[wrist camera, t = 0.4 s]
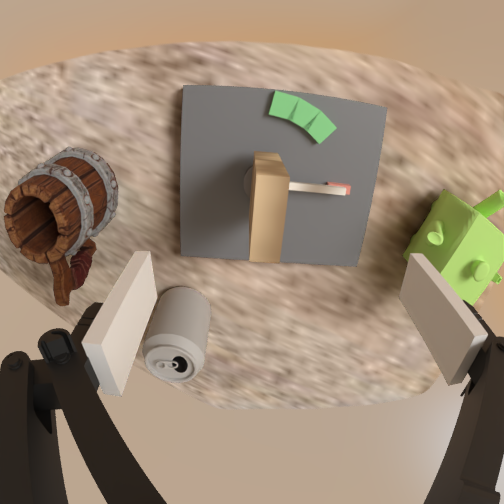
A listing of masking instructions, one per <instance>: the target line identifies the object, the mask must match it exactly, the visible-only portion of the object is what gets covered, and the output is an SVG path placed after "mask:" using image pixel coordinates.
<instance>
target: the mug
mask: <svg viewBox="0 0 504 504" xmlns="http://www.w3.org/2000/svg"><path fill="white" fill-rule="evenodd" d="M117 205H118V185H117V182H116V178H115V175H114V172H113V171H112V169H111V168H110V166H109V165H108V163H106V162H105V161H104V159H103V158H101V157H100V156H99V155H97V154H96V153H95V152H92V151H89V150H86V149H82V148H71V147H67V148H66V149H65V150H63V151H62V152H60V153H59V154H57V155H55V156H54V157H52V158H51V159H49V160H48V161H46V162H45V163H44V164H43V163H40V164H38V166H37V167H36V168H35V169H33V170H32V171H30V172H29V173H28V174H26V175H25V176H24V177H22V178H21V179H20V180H19V181H18V186H17V187H16V188H14V189H13V190H12V191H11V192H10V194H9V196H8V198H7V199H6V201H5V208H4V212H5V213H7V215H6V216H4V220H5V227H6V230H7V233H8V235H9V237H10V240H11V241H12V243H13V244H14V246H15V247H16V248H21V251H20V253H22V254H23V255H24V256H25V257H26V258H28V259H30V260H32V261H34V262H37V263H48V262H49V265H50V267H51V269H52V273H53V276H54V287H53V291H54V296H55V301H56V303H57V304H58V305H59V306H66V305H69V295H70V292H71V291H72V290H77V289H78V288H79V287H81V286H82V285H83V284H84V281H85V278H86V277H87V275H88V272H89V269H90V267H91V263H92V255H93V254H94V252H95V251H96V250H97V249H96V245H95V242H93V241H92V240H91V239H89V237H90V236H93V237H96V236H97V235H98V233H99V232H100V231H101V230H103V229H104V228H105V227H106V225H107V224H108V223H109V222H110V221H111V220H112V219H113V218H114V217H115V215H116V213H115V211H116V208H117ZM79 248H80V250H81V251H78V252H77V250H78V249H79ZM70 254H71V255H74V256H72V257H71V261H70V264H71V267H70V268H69V265H68V263H67V261H66V258H65V257H66V256H68V255H70Z"/></svg>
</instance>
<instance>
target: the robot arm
mask: <svg viewBox="0 0 504 504" xmlns="http://www.w3.org/2000/svg"><path fill="white" fill-rule="evenodd" d="M399 299H400V300H401V302H402V304H403V305H404V307H405V309H406V310H407V312H408V314H409V315H410V317H411V319H412V320H413V322H414V324H415V326H416V327H417V329H418V331H419V332H420V334H421V336H422V338H423V339H424V341H425V343H426V345H427V347H428V348H429V350H430V352H431V354H432V356H433V357H434V359H435V361H436V363H437V365H438V367H439V369H440V370H441V372H442V374H443V376H444V378H445V380H446V382H447V384H448V385H453V384H458V383H462V381H463V380H464V378H465V376H466V375H467V373H468V374H469V375H470V377H471V379H470V381H469V382H468V384H467V386H466V387H465V389H464V390H463V392H462V394H461V396H463V395H464V393H465V396H464V399H463V403H462V406H461V410H460V413H459V417H458V419H457V423H456V425H455V428H454V431H453V434H452V437H451V440H450V443H449V446H448V448H447V451H446V454H445V456H444V459H443V461H442V464H441V466H440V469H439V471H438V473H437V476H436V478H435V480H434V482H433V485H432V487H431V489H430V491H429V493H428V495H427V498H426V500H425V502H424V504H499V502H500V493H499V492H496V491H495V486H496V483H497V479H498V475H499V471H500V467H501V463H502V459H503V454H504V337H496V336H495V334H494V333H493V332H492V330H491V329H490V328H489V326H488V325H487V324H486V323H485V321H484V320H482V317H481V316H480V315H479V314H478V312H477V311H476V310H475V309H474V307H473V306H472V305H471V304H469V303H468V302H466V301H465V300H462V299H461V298H460V297H459V296H458V295H457V293H456V292H455V291H454V290H453V288H452V287H451V286H450V285H449V284H448V282H447V281H446V280H445V279H444V278H443V277H442V275H441V274H440V273H439V272H438V271H437V270H436V268H435V267H434V266H433V265H432V264H431V263H430V262H429V260H428V259H427V258H426V257H425V256H424V255H423V254H422V253H410V256H409V261H408V264H407V268H406V272H405V276H404V280H403V283H402V287H401V290H400V294H399ZM156 300H157V292H156V286H155V280H154V274H153V267H152V261H151V254H150V251H135V253H134V254H133V256H132V257H131V259H130V261H129V262H128V264H127V265H126V267H125V269H124V270H123V272H122V273H121V275H120V277H119V278H118V280H117V282H116V283H115V285H114V286H113V288H112V290H111V291H110V293H109V295H108V297H107V298H106V300H105V302H104V303H97V302H95V303H93V304H92V305H91V306H90V307H88V308H87V309H86V310H85V312H84V314H83V315H82V317H81V319H80V320H79V322H78V325H76V327H75V328H74V330H73V332H72V334H71V335H70V333H69V332H68V331H67V330H65V329H60V328H56V329H52V330H49V331H48V332H46V333H44V334H43V335H42V336H41V337H40V339H39V341H38V348H39V350H40V352H41V354H42V356H43V358H44V359H41V360H30V358H29V356H28V355H27V354H26V353H24V352H22V351H16V352H13V353H10V354H9V355H7V356H6V357H5V358H4V360H3V361H2V364H1V368H0V504H68V500H67V495H66V490H65V485H64V479H63V474H62V468H61V461H60V455H59V446H58V437H57V427H56V416H55V409H62V410H63V412H64V416H65V418H66V420H67V423H68V425H69V428H70V430H71V432H72V435H73V437H74V439H75V441H76V444H77V446H78V448H79V450H80V452H81V454H82V456H83V458H84V461H85V463H86V465H87V467H88V469H89V471H90V472H91V475H92V476H93V478H94V480H95V482H96V484H97V485H98V488H99V489H100V491H101V493H102V495H103V496H104V498H105V500H106V502H107V503H108V504H167V503H166V502H165V501H164V499H163V498H162V497H161V495H160V494H159V493H158V491H157V490H156V488H155V487H154V486H153V484H152V483H151V481H150V480H149V479H148V477H147V476H146V474H145V473H144V472H143V470H142V469H141V467H140V466H139V464H138V462H137V461H136V459H135V458H134V456H133V455H132V453H131V452H130V450H129V448H128V447H127V445H126V444H125V442H124V440H123V439H122V437H121V435H120V434H119V432H118V430H117V429H116V427H115V425H114V424H113V422H112V420H111V418H110V416H109V415H108V413H107V411H106V409H105V407H104V405H103V403H102V402H101V400H100V398H99V396H98V394H97V390H98V387H99V385H100V387H101V389H102V391H103V393H104V394H109V395H115V396H122V393H123V390H124V387H125V384H126V382H127V378H128V376H129V373H130V370H131V367H132V364H133V362H134V359H135V356H136V353H137V350H138V348H139V345H140V342H141V339H142V337H143V334H144V331H145V329H146V326H147V323H148V321H149V318H150V316H151V313H152V310H153V308H154V305H155V303H156Z"/></svg>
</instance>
